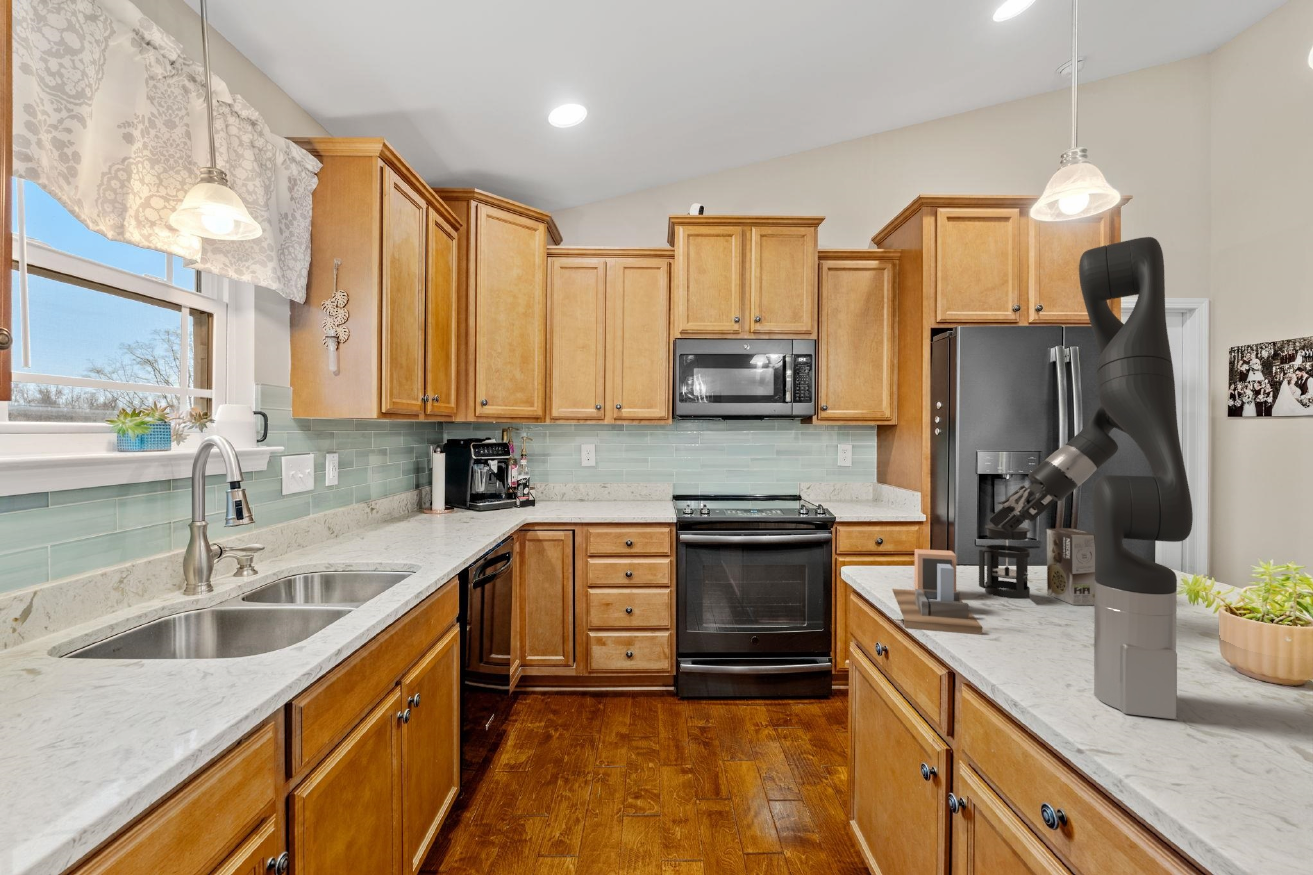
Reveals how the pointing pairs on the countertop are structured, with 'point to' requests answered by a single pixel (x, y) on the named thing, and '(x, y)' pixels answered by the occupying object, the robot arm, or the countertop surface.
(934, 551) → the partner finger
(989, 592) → the french press
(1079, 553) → the coffee box
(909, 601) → the rail
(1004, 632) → the countertop surface
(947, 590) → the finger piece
